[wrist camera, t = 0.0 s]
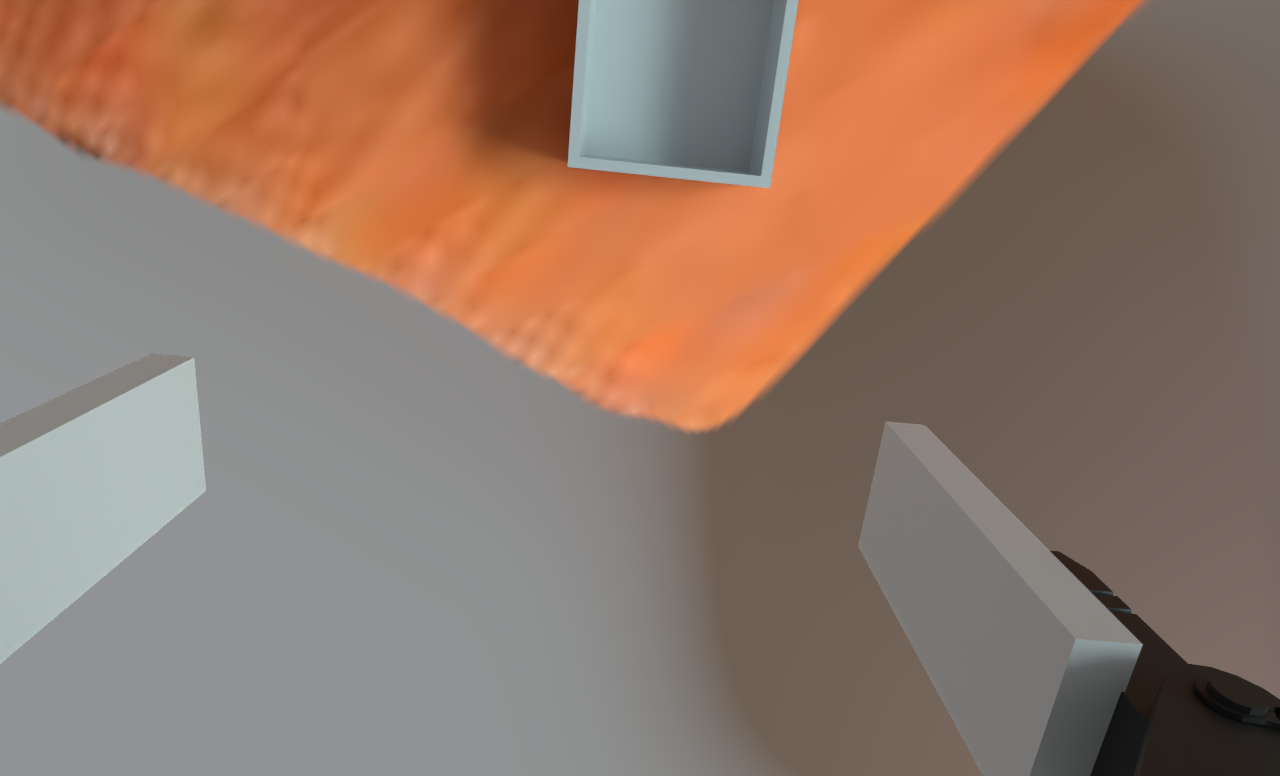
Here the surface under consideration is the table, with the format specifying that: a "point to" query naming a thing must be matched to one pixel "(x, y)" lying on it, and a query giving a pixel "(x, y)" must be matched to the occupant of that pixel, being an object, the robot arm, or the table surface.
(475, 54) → the table surface
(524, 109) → the table surface
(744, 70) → the cradle tray
